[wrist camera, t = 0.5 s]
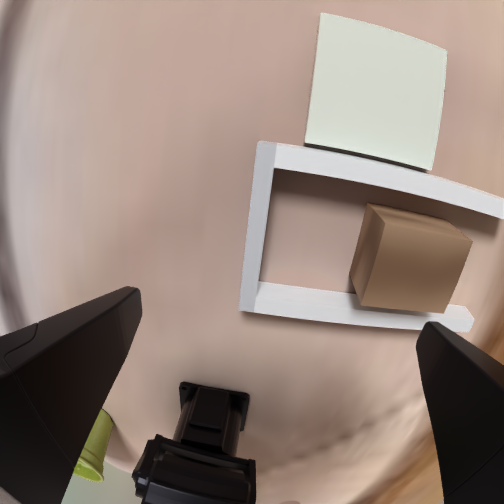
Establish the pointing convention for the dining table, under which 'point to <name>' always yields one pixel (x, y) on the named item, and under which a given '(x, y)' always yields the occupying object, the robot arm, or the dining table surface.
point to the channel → (331, 302)
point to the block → (407, 260)
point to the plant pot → (95, 450)
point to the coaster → (375, 91)
